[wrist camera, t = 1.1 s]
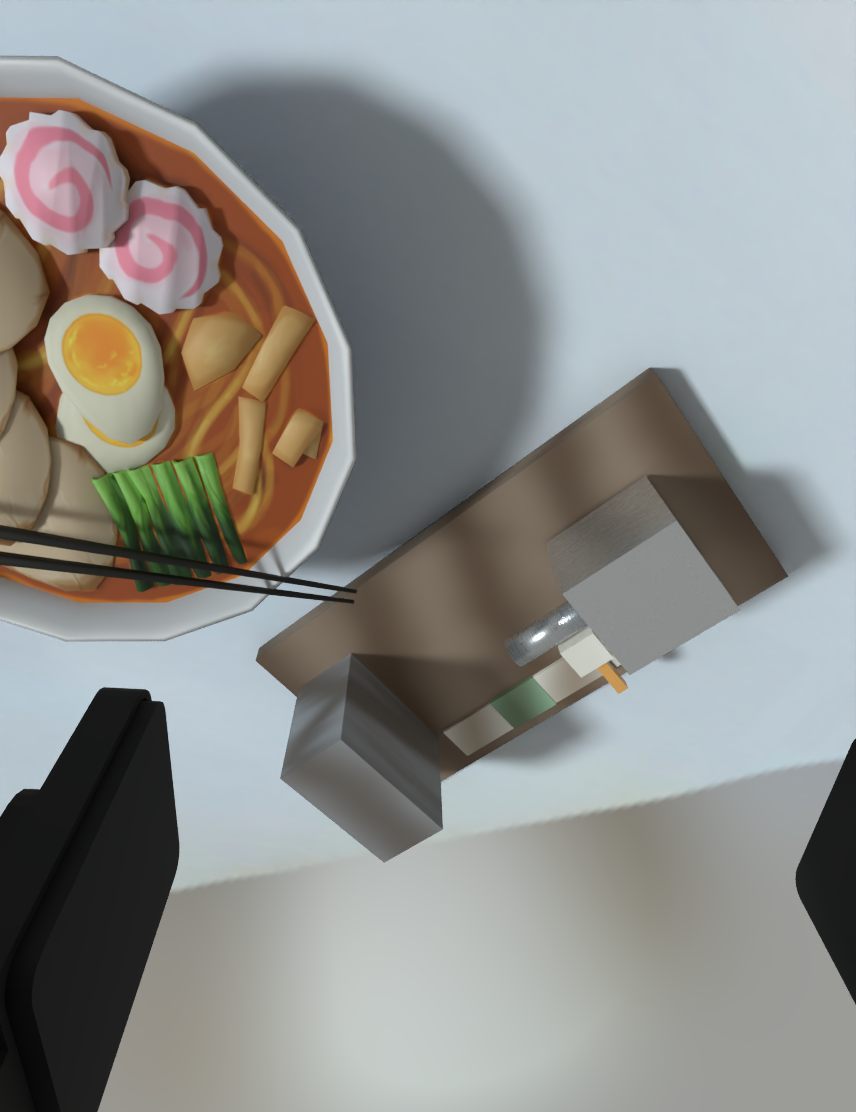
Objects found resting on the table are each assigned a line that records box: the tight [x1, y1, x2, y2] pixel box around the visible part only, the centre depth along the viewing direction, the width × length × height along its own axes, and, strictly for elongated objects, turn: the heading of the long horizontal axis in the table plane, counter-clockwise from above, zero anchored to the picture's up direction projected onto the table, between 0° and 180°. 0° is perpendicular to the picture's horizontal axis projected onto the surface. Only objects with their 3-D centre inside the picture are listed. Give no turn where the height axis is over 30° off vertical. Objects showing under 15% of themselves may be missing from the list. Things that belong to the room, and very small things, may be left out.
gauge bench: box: [256, 368, 788, 862], centre depth 39 cm, size 26×14×8 cm, turn 128°
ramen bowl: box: [0, 56, 357, 641], centre depth 32 cm, size 25×23×8 cm
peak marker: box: [557, 626, 628, 694], centre depth 41 cm, size 2×5×3 cm, turn 38°
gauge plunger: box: [505, 476, 740, 675], centre depth 38 cm, size 10×6×5 cm, turn 128°
